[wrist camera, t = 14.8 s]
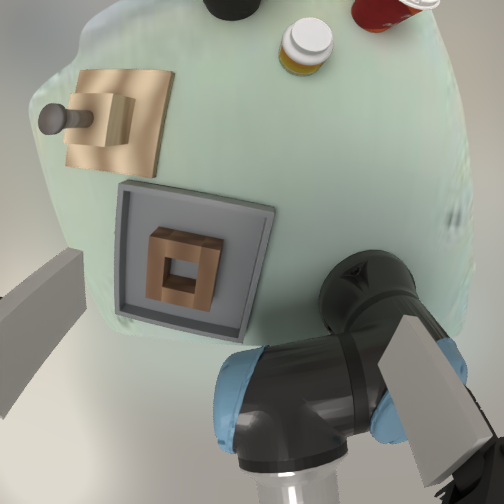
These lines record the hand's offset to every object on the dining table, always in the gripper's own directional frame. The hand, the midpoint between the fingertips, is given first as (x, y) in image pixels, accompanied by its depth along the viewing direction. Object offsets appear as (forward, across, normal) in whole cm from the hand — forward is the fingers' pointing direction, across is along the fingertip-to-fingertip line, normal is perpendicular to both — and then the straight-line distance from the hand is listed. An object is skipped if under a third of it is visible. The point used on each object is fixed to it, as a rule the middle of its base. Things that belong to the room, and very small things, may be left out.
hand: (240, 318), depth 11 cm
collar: (+28, +7, +12) cm, 31 cm away
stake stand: (+29, +20, -6) cm, 35 cm away
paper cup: (+29, -10, -28) cm, 41 cm away
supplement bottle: (+29, -2, -18) cm, 34 cm away
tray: (+29, +7, +12) cm, 32 cm away
